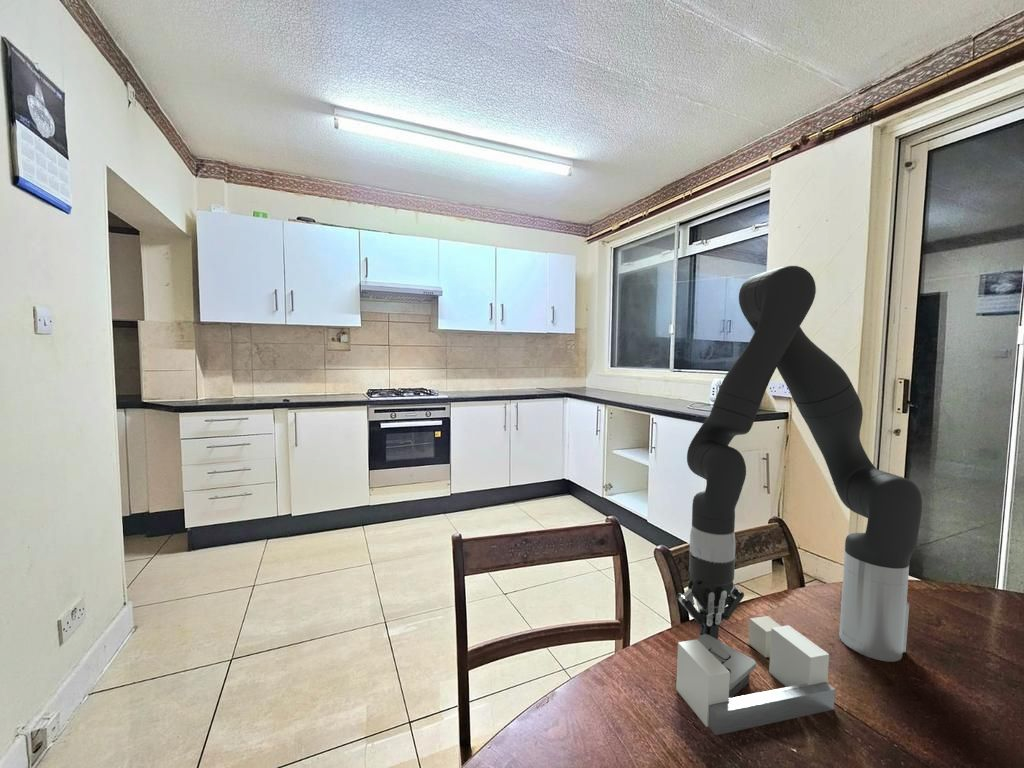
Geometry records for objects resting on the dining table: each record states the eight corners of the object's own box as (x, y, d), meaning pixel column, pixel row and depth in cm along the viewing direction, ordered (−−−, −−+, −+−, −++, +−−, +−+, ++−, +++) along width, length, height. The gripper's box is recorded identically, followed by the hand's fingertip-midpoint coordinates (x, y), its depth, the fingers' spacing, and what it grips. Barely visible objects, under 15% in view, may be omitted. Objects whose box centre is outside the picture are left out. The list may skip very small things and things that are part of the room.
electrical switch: (731, 687, 66) (677, 643, 74) (722, 714, 67) (671, 669, 75) (760, 663, 72) (707, 624, 79) (752, 688, 73) (701, 648, 80)
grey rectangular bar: (822, 701, 69) (823, 679, 69) (833, 710, 67) (835, 689, 67) (706, 725, 64) (707, 702, 64) (715, 736, 62) (716, 713, 62)
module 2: (784, 668, 76) (787, 624, 75) (825, 703, 68) (829, 654, 68) (767, 671, 75) (770, 626, 75) (807, 706, 68) (810, 657, 67)
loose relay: (766, 641, 83) (767, 615, 83) (783, 655, 80) (785, 628, 79) (748, 643, 83) (749, 618, 82) (765, 658, 79) (766, 631, 78)
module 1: (694, 684, 72) (696, 638, 71) (727, 723, 64) (729, 671, 64) (675, 688, 71) (677, 641, 71) (706, 727, 64) (709, 675, 63)
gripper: (729, 538, 84) (726, 623, 86) (667, 545, 82) (665, 633, 83) (758, 556, 77) (754, 649, 79) (692, 564, 74) (689, 660, 76)
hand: (708, 640), depth 81 cm, fingers closed
